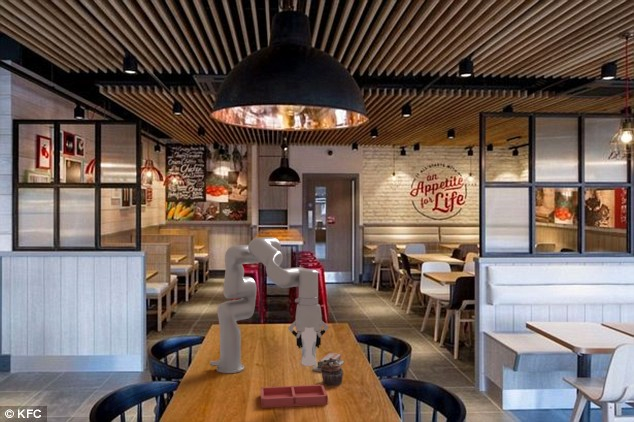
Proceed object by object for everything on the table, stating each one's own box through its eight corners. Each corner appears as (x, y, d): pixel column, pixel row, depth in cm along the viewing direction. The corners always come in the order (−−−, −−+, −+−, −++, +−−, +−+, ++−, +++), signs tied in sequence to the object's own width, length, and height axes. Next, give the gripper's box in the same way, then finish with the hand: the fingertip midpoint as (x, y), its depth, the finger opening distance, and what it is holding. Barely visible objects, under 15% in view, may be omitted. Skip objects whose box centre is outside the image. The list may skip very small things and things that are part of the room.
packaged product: (325, 351, 256) (344, 353, 253) (325, 361, 256) (344, 363, 253) (312, 361, 239) (332, 363, 236) (312, 371, 240) (332, 374, 236)
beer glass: (304, 367, 199) (304, 328, 199) (296, 363, 205) (296, 324, 205) (320, 365, 202) (320, 326, 202) (312, 360, 208) (312, 322, 208)
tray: (261, 407, 195) (261, 399, 195) (260, 395, 208) (260, 387, 208) (327, 404, 198) (327, 396, 198) (323, 392, 211) (323, 384, 211)
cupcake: (336, 387, 217) (336, 363, 217) (316, 383, 222) (316, 360, 222) (347, 381, 225) (347, 358, 225) (328, 377, 230) (328, 354, 230)
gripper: (286, 303, 199) (286, 350, 199) (331, 302, 201) (332, 349, 201) (285, 300, 206) (285, 345, 206) (329, 299, 208) (329, 344, 209)
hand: (308, 346), depth 204 cm, fingers closed on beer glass, 6 cm apart
